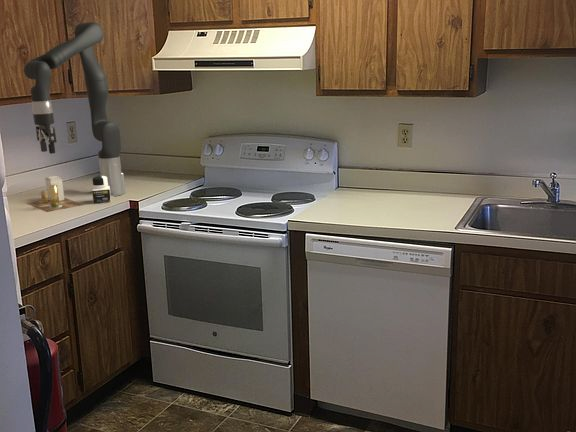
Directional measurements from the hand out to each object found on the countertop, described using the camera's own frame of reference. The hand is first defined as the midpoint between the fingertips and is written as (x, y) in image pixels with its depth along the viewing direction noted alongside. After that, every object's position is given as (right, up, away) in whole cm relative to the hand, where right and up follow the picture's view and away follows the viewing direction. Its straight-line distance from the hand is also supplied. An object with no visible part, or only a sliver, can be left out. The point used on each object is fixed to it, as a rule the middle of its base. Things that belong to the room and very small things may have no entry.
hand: (48, 152), depth 261 cm
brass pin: (+1, -22, +6) cm, 23 cm away
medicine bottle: (+18, -21, +13) cm, 31 cm away
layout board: (-1, -22, +12) cm, 25 cm away
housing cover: (-4, -19, +20) cm, 28 cm away
